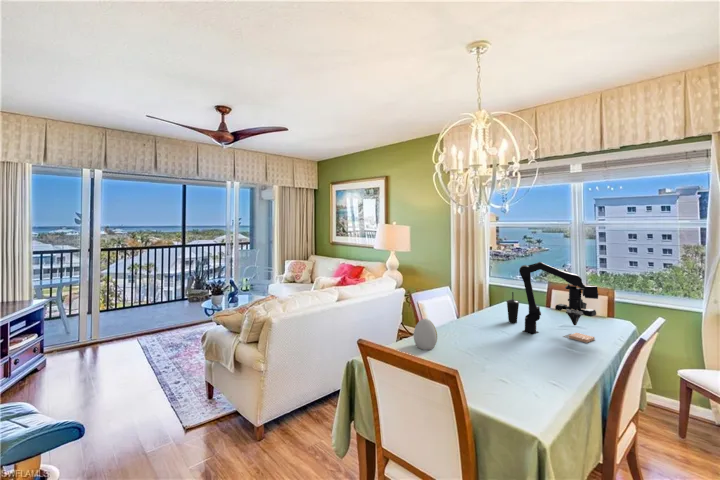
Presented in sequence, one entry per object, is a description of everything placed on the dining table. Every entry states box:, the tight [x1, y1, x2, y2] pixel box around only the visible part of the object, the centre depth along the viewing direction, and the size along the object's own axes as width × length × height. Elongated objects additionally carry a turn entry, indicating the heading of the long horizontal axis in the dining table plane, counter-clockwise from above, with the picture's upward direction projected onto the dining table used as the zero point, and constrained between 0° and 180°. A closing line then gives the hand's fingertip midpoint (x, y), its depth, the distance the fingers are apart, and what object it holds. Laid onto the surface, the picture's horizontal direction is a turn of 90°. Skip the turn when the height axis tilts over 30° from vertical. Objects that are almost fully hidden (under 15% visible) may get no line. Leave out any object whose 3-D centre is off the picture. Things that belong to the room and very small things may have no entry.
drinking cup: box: [506, 291, 520, 324], centre depth 215 cm, size 8×8×20 cm
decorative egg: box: [413, 318, 438, 351], centre depth 174 cm, size 12×12×15 cm
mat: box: [562, 333, 596, 344], centre depth 182 cm, size 9×13×1 cm
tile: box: [568, 332, 596, 344], centre depth 181 cm, size 8×2×9 cm
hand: (574, 325), depth 184 cm, fingers closed
